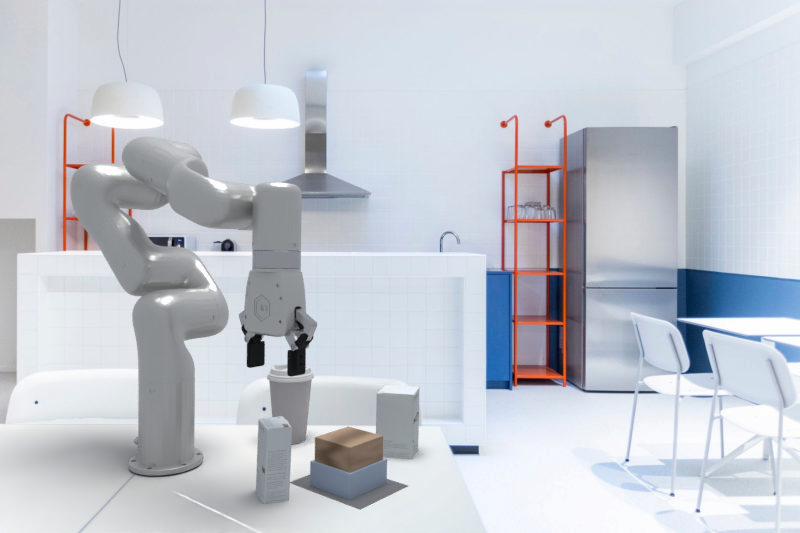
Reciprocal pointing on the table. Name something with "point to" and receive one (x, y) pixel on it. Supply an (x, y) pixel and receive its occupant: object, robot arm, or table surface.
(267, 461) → the skincare box
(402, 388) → the supplement box
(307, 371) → the coffee cup
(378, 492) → the mat
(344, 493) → the tower base
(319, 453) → the tower top
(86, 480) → the table surface
